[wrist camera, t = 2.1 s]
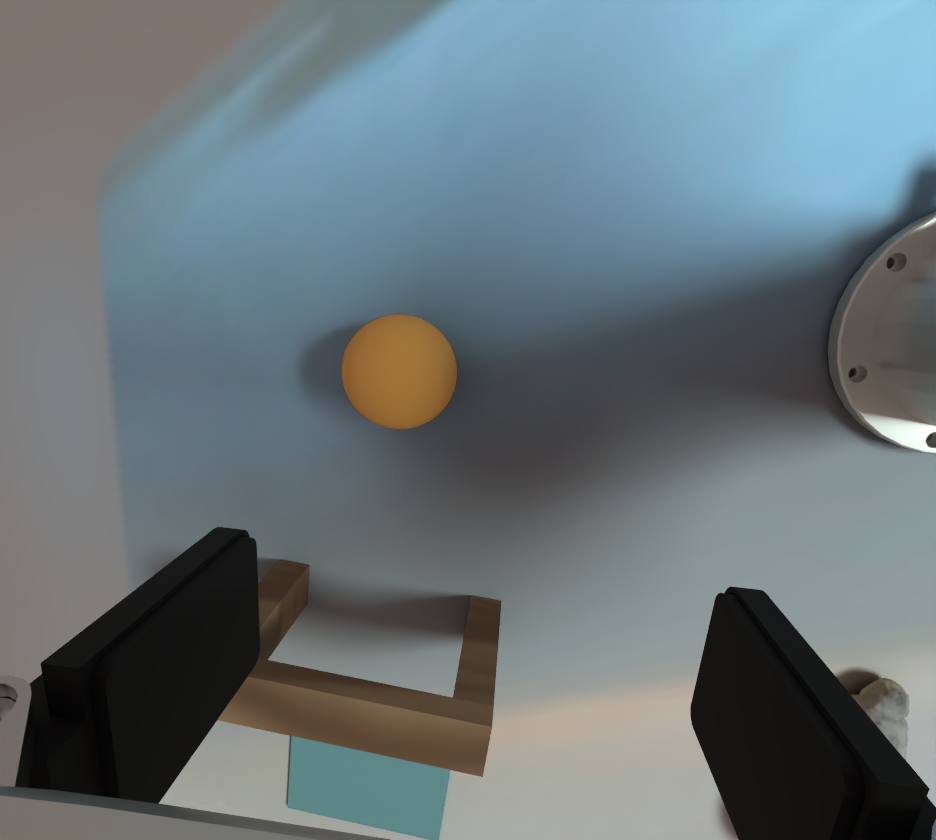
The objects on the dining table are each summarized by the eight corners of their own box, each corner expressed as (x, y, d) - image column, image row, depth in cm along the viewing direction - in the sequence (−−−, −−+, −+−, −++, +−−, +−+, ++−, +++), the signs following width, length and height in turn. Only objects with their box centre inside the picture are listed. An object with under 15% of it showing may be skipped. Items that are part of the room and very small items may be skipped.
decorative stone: (924, 681, 31) (972, 727, 27) (810, 853, 35) (840, 912, 31) (827, 650, 31) (863, 692, 28) (725, 825, 35) (746, 880, 32)
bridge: (280, 559, 33) (185, 663, 24) (501, 601, 32) (492, 726, 23) (279, 598, 34) (186, 713, 25) (494, 639, 33) (482, 777, 24)
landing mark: (295, 679, 36) (294, 681, 35) (459, 713, 35) (458, 715, 35) (288, 805, 39) (287, 807, 39) (438, 838, 38) (438, 841, 38)
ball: (367, 305, 28) (327, 307, 23) (470, 320, 28) (456, 327, 22) (359, 405, 30) (319, 432, 24) (456, 421, 30) (439, 452, 24)
